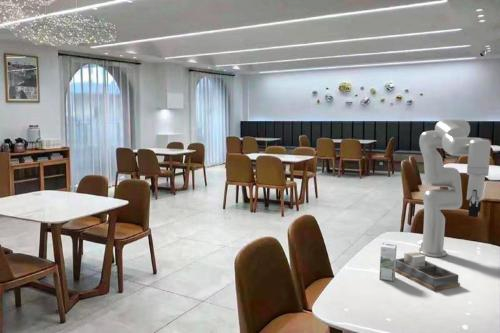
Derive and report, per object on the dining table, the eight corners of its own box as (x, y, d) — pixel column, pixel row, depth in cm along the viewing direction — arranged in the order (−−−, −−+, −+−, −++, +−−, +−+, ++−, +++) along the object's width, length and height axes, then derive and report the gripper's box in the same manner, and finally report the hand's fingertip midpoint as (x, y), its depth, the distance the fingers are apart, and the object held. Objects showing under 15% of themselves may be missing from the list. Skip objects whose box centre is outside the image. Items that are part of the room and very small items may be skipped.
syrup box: (395, 277, 187) (396, 243, 185) (393, 282, 182) (395, 247, 180) (381, 274, 189) (382, 242, 187) (379, 279, 184) (380, 246, 182)
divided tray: (391, 269, 195) (392, 251, 194) (415, 265, 200) (416, 248, 199) (433, 291, 173) (434, 271, 171) (459, 286, 178) (461, 266, 177)
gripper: (469, 167, 182) (466, 208, 185) (464, 173, 168) (460, 217, 170) (490, 169, 178) (487, 210, 181) (486, 174, 164) (482, 220, 166)
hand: (474, 213), depth 176 cm, fingers open, 9 cm apart
